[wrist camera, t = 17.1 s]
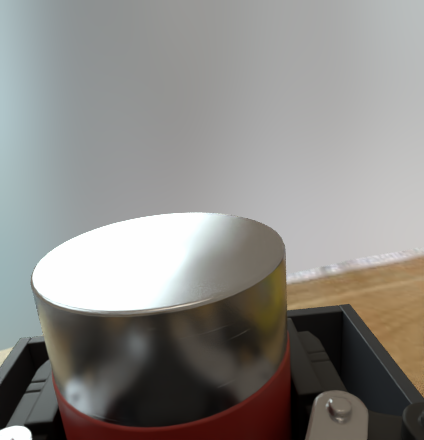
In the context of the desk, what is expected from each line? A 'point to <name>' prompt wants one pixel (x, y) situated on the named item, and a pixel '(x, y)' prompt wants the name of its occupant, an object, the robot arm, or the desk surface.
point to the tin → (169, 330)
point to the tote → (304, 321)
